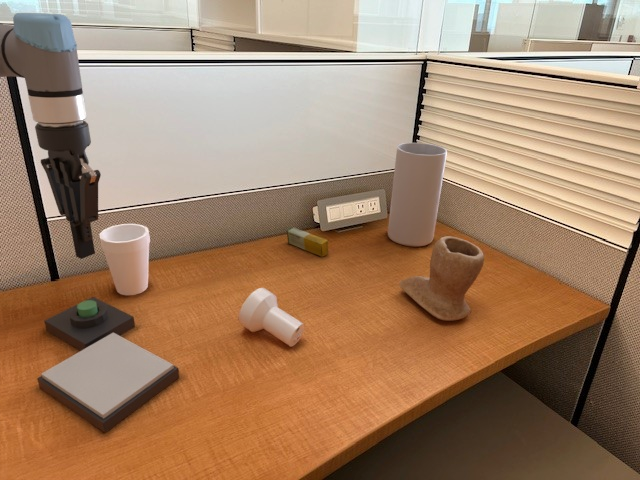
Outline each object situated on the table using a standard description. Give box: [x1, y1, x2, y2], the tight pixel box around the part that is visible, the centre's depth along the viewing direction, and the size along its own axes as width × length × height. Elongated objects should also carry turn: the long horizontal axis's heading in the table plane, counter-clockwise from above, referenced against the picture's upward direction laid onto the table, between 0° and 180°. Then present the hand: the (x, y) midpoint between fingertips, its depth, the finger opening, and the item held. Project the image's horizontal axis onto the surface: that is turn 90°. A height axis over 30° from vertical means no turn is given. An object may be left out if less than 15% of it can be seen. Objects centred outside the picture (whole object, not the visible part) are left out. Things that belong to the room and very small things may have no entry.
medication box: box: [286, 226, 329, 258], centre depth 122 cm, size 12×3×4 cm, turn 50°
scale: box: [36, 333, 180, 434], centre depth 76 cm, size 16×14×3 cm
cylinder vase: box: [387, 142, 448, 248], centre depth 127 cm, size 12×12×25 cm
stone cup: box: [398, 235, 485, 322], centre depth 99 cm, size 15×12×15 cm
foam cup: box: [99, 223, 151, 296], centre depth 100 cm, size 10×9×13 cm
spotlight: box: [237, 287, 306, 347], centre depth 89 cm, size 8×11×8 cm
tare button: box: [76, 299, 98, 317], centre depth 87 cm, size 3×3×2 cm
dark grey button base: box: [44, 296, 136, 352], centre depth 88 cm, size 12×10×4 cm
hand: (85, 254), depth 85 cm, fingers closed
